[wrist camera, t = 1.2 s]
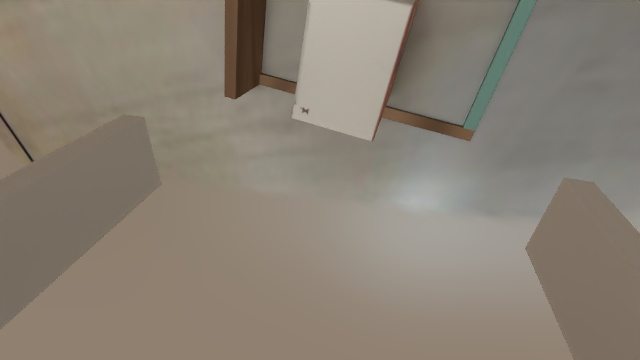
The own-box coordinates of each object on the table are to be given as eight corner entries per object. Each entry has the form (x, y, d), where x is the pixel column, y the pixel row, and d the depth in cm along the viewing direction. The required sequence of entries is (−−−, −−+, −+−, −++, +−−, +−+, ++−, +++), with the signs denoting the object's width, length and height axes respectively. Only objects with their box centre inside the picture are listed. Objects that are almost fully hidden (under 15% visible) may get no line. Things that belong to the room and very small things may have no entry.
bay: (543, -17, 22) (568, -15, 18) (469, 139, 29) (476, 166, 25) (258, -73, 25) (225, -82, 21) (250, 81, 32) (224, 96, 28)
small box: (389, 96, 29) (372, 146, 21) (329, 79, 30) (288, 121, 21) (422, -6, 25) (417, 4, 16) (350, -23, 25) (308, -22, 17)
